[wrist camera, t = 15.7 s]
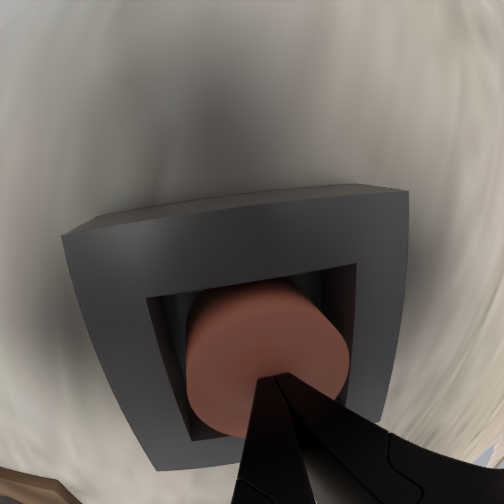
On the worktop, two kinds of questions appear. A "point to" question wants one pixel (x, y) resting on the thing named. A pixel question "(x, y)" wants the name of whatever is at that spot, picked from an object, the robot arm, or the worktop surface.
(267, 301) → the button
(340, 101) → the worktop surface
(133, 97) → the worktop surface
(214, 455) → the button housing
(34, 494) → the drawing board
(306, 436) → the robot arm
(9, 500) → the grey capped bottle
